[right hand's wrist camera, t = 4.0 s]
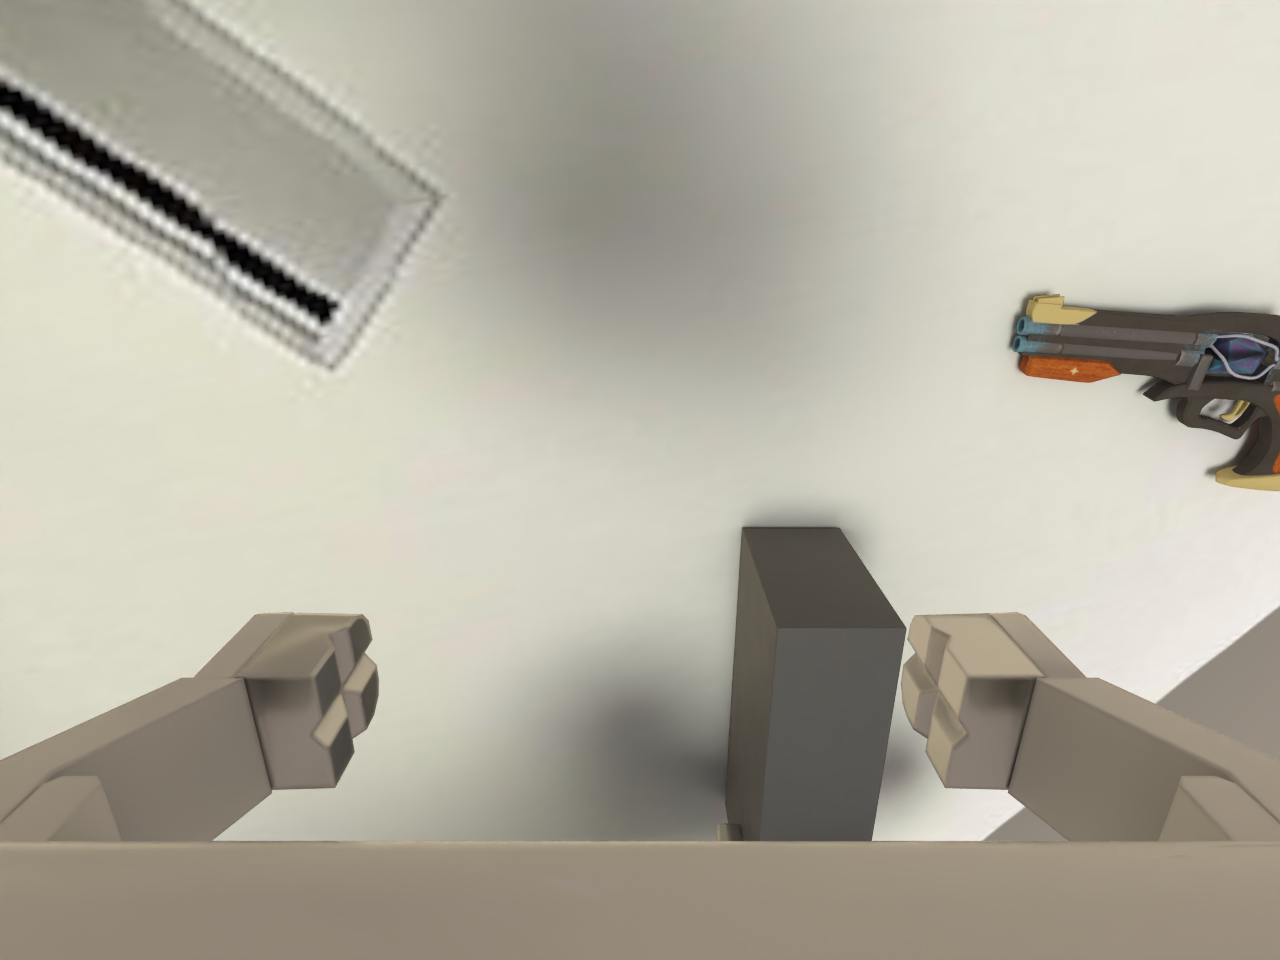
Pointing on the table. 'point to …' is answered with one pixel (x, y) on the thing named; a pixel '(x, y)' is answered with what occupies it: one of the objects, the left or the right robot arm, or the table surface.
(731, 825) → the left robot arm
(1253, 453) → the toy gun
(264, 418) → the table surface
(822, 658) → the box
